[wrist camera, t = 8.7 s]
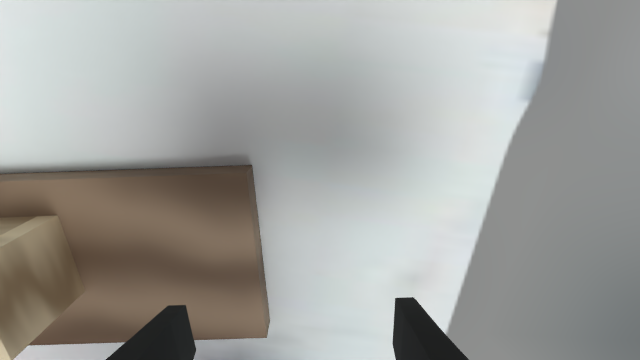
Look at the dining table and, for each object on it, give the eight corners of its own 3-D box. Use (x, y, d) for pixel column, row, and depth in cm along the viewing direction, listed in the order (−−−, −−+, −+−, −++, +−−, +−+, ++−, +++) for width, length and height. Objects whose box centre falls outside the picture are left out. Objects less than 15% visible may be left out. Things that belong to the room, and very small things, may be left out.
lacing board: (269, 320, 22) (253, 405, 17) (27, 328, 22) (-71, 415, 17) (251, 165, 18) (222, 206, 13) (-44, 175, 18) (-204, 221, 13)
